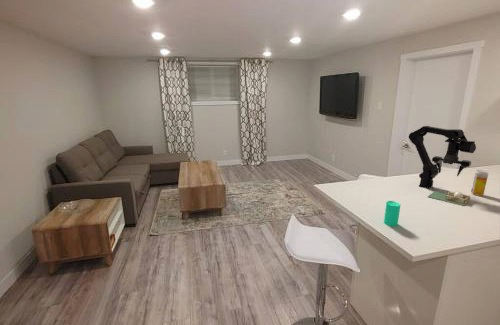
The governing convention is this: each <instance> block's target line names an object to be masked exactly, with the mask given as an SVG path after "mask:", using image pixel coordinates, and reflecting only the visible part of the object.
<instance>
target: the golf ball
mask: <svg viewBox="0 0 500 325" xmlns="http://www.w3.org/2000/svg"><path fill="white" fill-rule="evenodd" d="M453 193H454V197H457V198H463V195H464V194H463V192H460V191H456V192H453Z"/></svg>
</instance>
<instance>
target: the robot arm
mask: <svg viewBox="0 0 500 325" xmlns="http://www.w3.org/2000/svg"><path fill="white" fill-rule="evenodd" d="M427 134H434V135H439V136H443V137H445V138H447V139H446V140H444V142H445V143H448V144H447V149H446V153H445V156H444V157H443V156H436V155H435V156H433V157H432V159H431V158H430V155H429V153H428V151H427V149H426V147H425V144H424V140H425V138H424V136H426V135H427ZM408 140H409V141H410V142H411V144H413V145H414V146H415V148H416V151H417V153H418V156H419V158H420V161H421V164H422V172H421V173H420V174H418V177H419V178H420V181H419V185H418V187H421V188H424V189H431V188H433V185H434V179H435V178H436V177H437V176H438V175H439V174H441V172H442V164H448V165H454V164H457V165H459V167H458V171H457V175H456V177H459V176H460V174H461V173H462V171H463V170H464V169H466V168H467V167H468V168H469V167H470V166H471V165H472V162H471V160H465V159H462V160H459V153H460V152H463V153H468V154H473V153H474V152H476V149H477V146H476V144H475V141H473V140H471V141H470V140H468V139H467V137H466V135H465V132H464V130H463V129H460V128H459V129H458V128H457V129H456V128H455V129H450V128H449V129H448V128H441V127H435V126H429V125H424V126H421V127H420V128H418V129H416V130H415V131H412V132H410V133H409V135H408ZM459 151H460V152H459ZM433 162H434V163H433Z"/></svg>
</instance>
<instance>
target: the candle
mask: <svg viewBox="0 0 500 325" xmlns="http://www.w3.org/2000/svg"><path fill="white" fill-rule="evenodd" d="M384 210H385V211H384V218H383V224H385V225H386V226H389V227H398V225H399V218H400V213H401V212H400V211H401V203H399V202H396V201H394V200H388V201H386V203H385V209H384Z"/></svg>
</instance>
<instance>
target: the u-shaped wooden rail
mask: <svg viewBox="0 0 500 325" xmlns="http://www.w3.org/2000/svg"><path fill="white" fill-rule="evenodd" d="M454 193H455V192H453V191H448V193H447V194H448V195H445V199H446V200H450V201H454V202H458V203H462V204H466V203H467V202H470V200H469V199H471V196H470V195H466V194H463V198H457V197H454ZM467 204H468V203H467ZM467 204H466V205H467Z"/></svg>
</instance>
